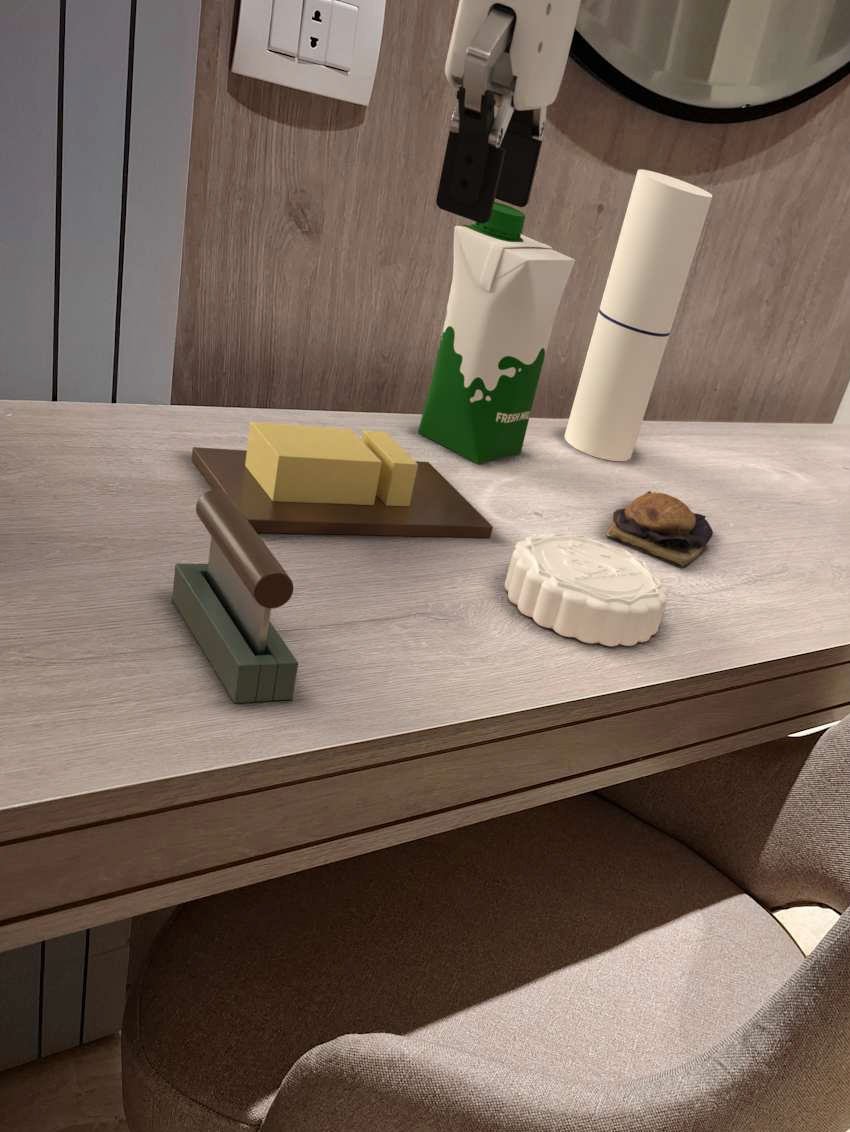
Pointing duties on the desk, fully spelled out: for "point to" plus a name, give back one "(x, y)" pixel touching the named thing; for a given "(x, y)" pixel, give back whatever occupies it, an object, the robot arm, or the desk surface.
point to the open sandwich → (662, 527)
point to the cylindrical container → (636, 314)
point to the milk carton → (493, 337)
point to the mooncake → (586, 589)
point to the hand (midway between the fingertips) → (483, 207)
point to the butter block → (312, 464)
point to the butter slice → (392, 469)
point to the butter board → (344, 505)
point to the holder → (232, 642)
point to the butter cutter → (242, 569)
